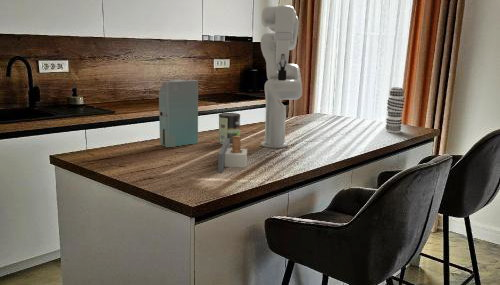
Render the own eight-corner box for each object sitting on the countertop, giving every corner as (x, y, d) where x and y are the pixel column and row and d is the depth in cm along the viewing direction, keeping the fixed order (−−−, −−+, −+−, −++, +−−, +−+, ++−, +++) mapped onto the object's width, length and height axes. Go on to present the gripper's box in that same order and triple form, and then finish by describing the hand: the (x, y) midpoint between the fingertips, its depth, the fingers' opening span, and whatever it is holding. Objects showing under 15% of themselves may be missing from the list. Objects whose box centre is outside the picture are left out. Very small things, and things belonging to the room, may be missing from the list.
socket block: (227, 160, 187) (227, 148, 186) (246, 160, 187) (247, 148, 186) (224, 166, 178) (224, 154, 177) (245, 167, 177) (245, 154, 176)
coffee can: (241, 141, 227) (242, 113, 224) (237, 145, 217) (237, 116, 214) (221, 140, 229) (221, 112, 226) (215, 144, 219) (216, 115, 216)
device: (189, 140, 225) (188, 79, 219) (198, 143, 220) (198, 80, 213) (159, 145, 214) (158, 80, 208) (168, 148, 209) (167, 82, 202)
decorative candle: (403, 133, 259) (408, 88, 254) (387, 132, 259) (391, 88, 254) (398, 130, 268) (403, 87, 263) (382, 129, 268) (386, 86, 263)
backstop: (225, 156, 196) (226, 138, 195) (269, 158, 196) (269, 139, 194) (218, 175, 169) (218, 154, 167) (268, 177, 168) (269, 155, 167)
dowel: (232, 160, 184) (232, 135, 182) (240, 160, 184) (240, 135, 181) (231, 162, 181) (232, 137, 178) (240, 162, 181) (240, 137, 178)
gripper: (274, 37, 196) (273, 77, 200) (274, 36, 179) (272, 81, 183) (292, 37, 196) (290, 78, 199) (293, 37, 179) (291, 81, 183)
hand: (281, 79), depth 191 cm, fingers open, 9 cm apart
